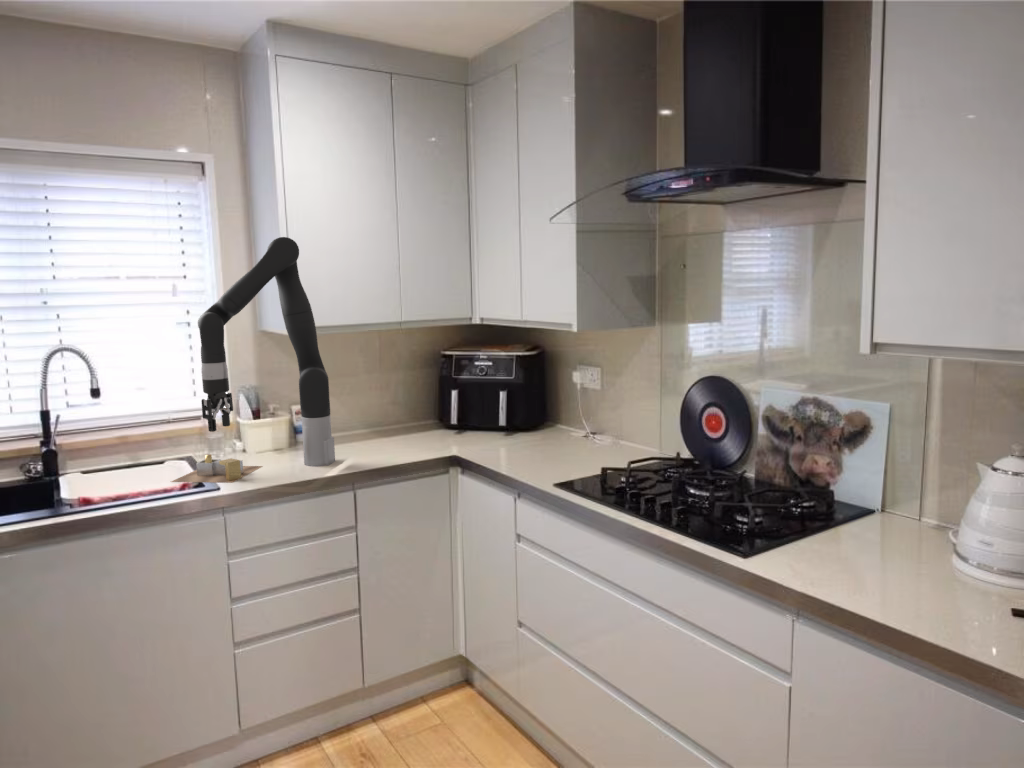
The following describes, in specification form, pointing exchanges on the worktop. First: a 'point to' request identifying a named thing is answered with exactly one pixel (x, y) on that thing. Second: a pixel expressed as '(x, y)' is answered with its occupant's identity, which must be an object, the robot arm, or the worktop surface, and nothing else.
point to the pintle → (208, 458)
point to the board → (214, 476)
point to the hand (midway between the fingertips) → (219, 428)
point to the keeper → (231, 468)
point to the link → (213, 468)
